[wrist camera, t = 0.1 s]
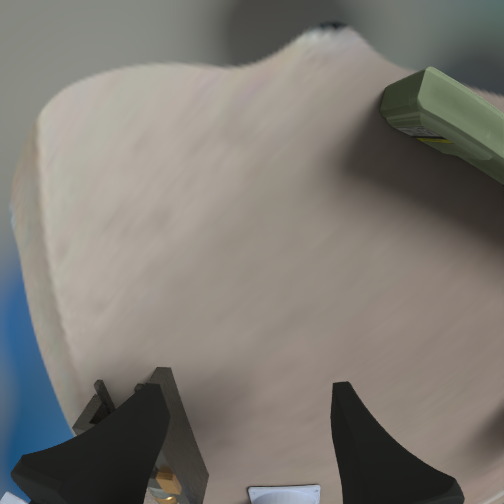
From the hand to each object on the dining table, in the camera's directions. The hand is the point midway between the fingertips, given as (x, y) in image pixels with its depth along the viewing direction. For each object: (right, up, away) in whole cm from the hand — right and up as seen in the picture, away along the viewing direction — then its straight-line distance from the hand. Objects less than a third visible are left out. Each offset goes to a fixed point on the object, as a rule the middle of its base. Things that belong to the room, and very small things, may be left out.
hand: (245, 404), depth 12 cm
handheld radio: (+20, +12, +6) cm, 24 cm away
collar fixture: (-9, -16, +16) cm, 25 cm away
